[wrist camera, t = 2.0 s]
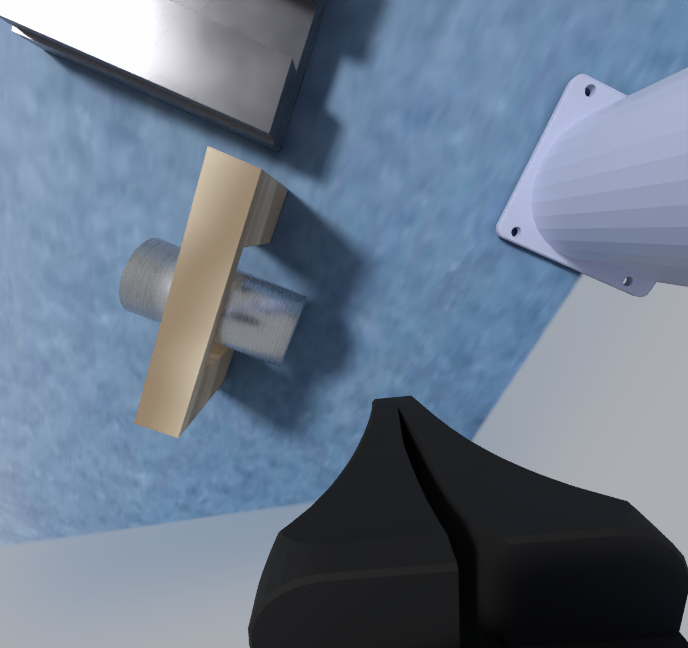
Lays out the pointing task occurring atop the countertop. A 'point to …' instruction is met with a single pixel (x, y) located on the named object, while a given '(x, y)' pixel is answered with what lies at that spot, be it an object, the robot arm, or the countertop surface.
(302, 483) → the countertop surface
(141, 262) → the silver metal cylinder
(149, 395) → the beam
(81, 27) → the v block
